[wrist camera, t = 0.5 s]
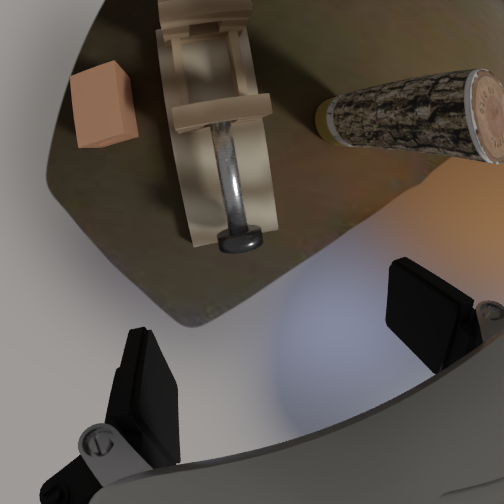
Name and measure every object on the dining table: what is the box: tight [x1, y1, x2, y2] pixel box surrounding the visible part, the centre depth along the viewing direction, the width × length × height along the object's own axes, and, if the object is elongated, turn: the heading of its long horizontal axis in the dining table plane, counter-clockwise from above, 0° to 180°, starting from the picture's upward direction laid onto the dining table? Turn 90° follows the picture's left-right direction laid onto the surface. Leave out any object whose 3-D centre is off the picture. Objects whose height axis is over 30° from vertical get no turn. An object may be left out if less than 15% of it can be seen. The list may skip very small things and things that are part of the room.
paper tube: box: [315, 69, 504, 164], centre depth 23 cm, size 7×7×25 cm
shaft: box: [210, 120, 263, 254], centre depth 29 cm, size 16×5×5 cm, turn 8°
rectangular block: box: [70, 60, 139, 148], centre depth 25 cm, size 8×5×8 cm, turn 8°
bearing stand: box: [156, 0, 278, 247], centre depth 28 cm, size 28×11×10 cm, turn 8°
